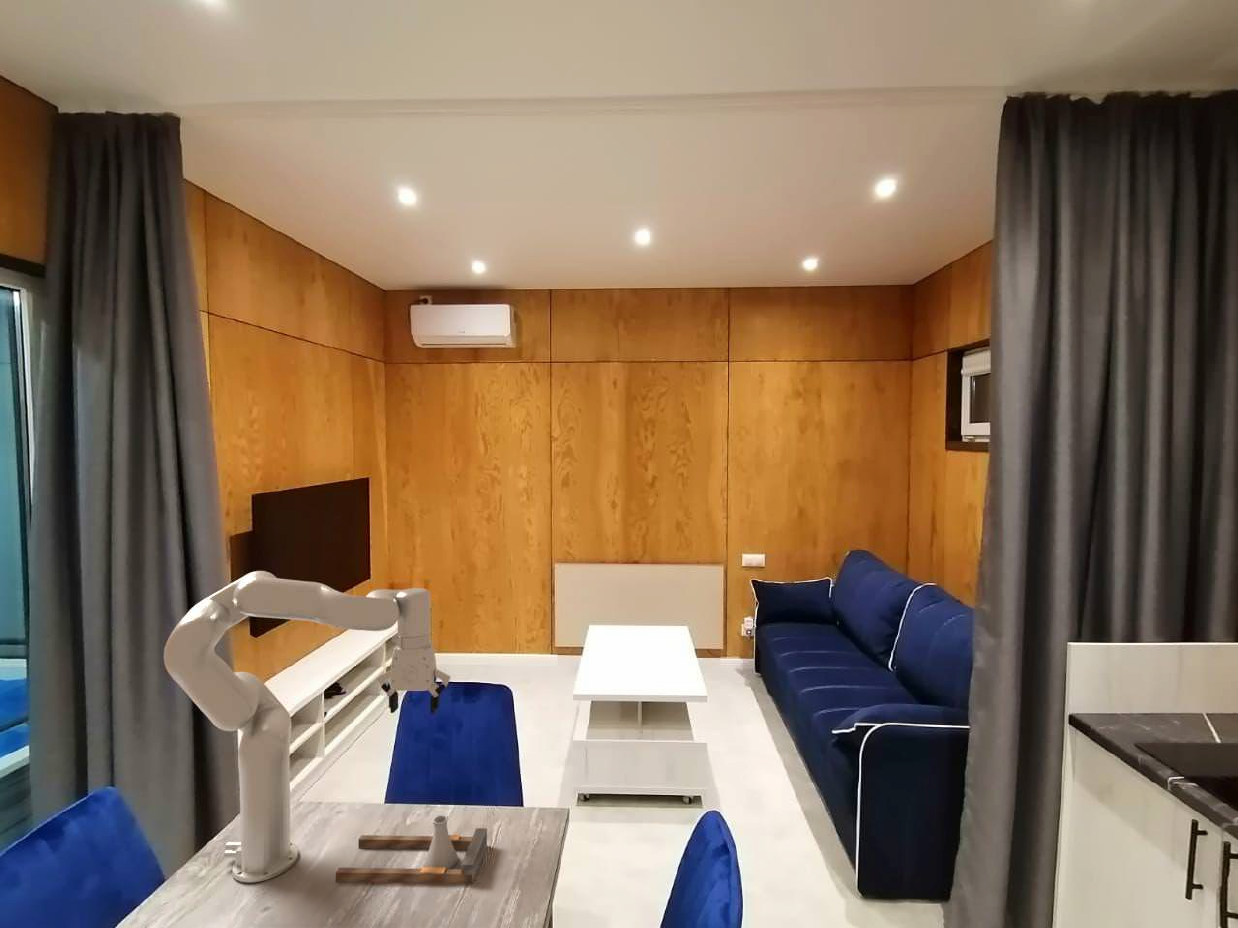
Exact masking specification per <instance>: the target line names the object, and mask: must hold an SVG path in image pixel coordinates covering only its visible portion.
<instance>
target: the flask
mask: <svg viewBox="0 0 1238 928" xmlns="http://www.w3.org/2000/svg"><path fill="white" fill-rule="evenodd" d="M432 819H433V820H432V824H433V826H434V827H433V834H432V836H433V839H432V842H431V845H430V848H429V849H428V851H427V855H426V857H425V859H424V865H423V867H444V868H446V869H453V867H454V866H455V865H456V864H457V860H458V854H457V850H456V849H454V847H453V844H452V842H451V839H450V837H449V835H450V834H449V832H448V831H449V830H448V825H447V824H448V821H449V816H447V815H445V814H438V815H436V816H435V817H433V818H432Z"/></svg>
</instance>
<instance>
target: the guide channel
mask: <svg viewBox="0 0 1238 928" xmlns="http://www.w3.org/2000/svg"><path fill="white" fill-rule="evenodd" d="M449 837H450V839H451V842H452V844H453V847H454V849H455V850H467V851H466V853H465V855H464V857H463V860H462V863H461V868H460V869H459V868H458V869H457V868H455V869H454V868H451V869H446V868H444V867H424V866H422V868H405V867H404V868H398V867H397V868H396V867H395V868H393V867H391V868H390V867H388V868H387V867H338V868H337V869H336V871H335V883H339V882H340V883H341V882H342V883H346V882H347V883H395V884H396V883H400V884H401V883H402V884H405V883H406V884H465V885H466V884H470V885H472V884H475V883H474V882H475V880H476V877H477V874H478V871H479V869H480V867H481V864H482V861H483V858H484V855H485V852H486V849H487V846H488V828H486V827H485V828H483V827H482V828H481V827H480V828H479V827H476V828H475V831H474V833H473V835H472V836H461V835H460V834H449ZM432 839H433V835H376V834H374V835H369V834H368V835H367V834H366V835H363V834H362V835H360V836H359V838H358V849H405V850H406V849H410V850H412V849H414V850H429V848H430V845H431V842H432Z"/></svg>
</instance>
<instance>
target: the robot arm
mask: <svg viewBox="0 0 1238 928" xmlns="http://www.w3.org/2000/svg"><path fill="white" fill-rule="evenodd" d="M248 617H256V618H266V619H267V618H269V619H271V618H272V619H284V620H295V621H308V622H313V623H317V624H319V625H325V626H331V627H334V628H340V629H344V630H352V631H355V630H356V631H364V632H365V631H366V632H368V631H369V632H381V631H386V630H389V629H390V628H393V626H394V625H396V623H397V634H395V635H392V637H391V641H392V642H394V643H396V646H394V648H393V650H392V651H393V652H392V657H391V663H390V664H391V665H390V670H389V671H386V672H384V673H382V674H380V675H379V676H378V677H377V681H378V683H379V684H380V687H381V689H382V690H383V692H385V693H386V697H388V708H389V709H390V710H389V711H390V714H394V713H395V712H396V711H397V709H399V692H398V691H402V692H403V691H407V692H408V691H409V692H416V691H417V692H422V691H423V692H425V691H428V692H429V693H430V694H431V696H430V713H431V714H435V712H436V711H437V710H438V709H439V708H440V694H441V693H443V691H444V690H445V689H446V688H447V686H448V684H449V681H450V680H451V676H450V675H449V674H446V673H445V672H443V671H441V670H439V669H437V659H436V652H435V648H434V645H433V643H431V593H430V591H429V590H428V589H425V588H423V587H412V588H407V589H406V588H405V589H374V590H372V591H370V592H369V593H368V594H366V596H361V595H353V594H350V593H344V592H341V591H338V590H336V589H333V588H332V587H330V586H328V585H326V584H324V583H320V582H316V581H305V580H304V581H303V580H296V579H288V578H287V579H286V578H278V577H277V576H275V575H274V574H272V573H271V572H268V571H265V570H256V571H252V572H249V573H247V574H245V575H243V576H242V577H240V578H239V579H237V580H235V581H234V582H232V583H230V584H228V585H227V586H225V587H223V588H222V589H220V590H218V591H217V592H215V593H213V594H212V595H209V596H208V597H206V598H204V599H203V600H201V601H199V602H198V603H196V604H195V605H194V606H193V607H191V608H190V609H189V610H188V612H187V613H186V614H185V615H184V616H183V617H182V618H181V619H180V620H179V622H178V623H177V624H176V626H175V627H174V628H173V630H172V632H171V633H170V636H169V637H168V639H167V641H166V644H165V646H164V649H163V662H164V663H163V664H164V666H165V668H166V670H167V672H168V674H169V675H170V677H171V678H172V680H173V681H175V682H176V683H177V685H178V686H179V688H181V689H182V690H183V691H184V693H186V694H187V696H188V697H189V698H190V700H191V701H192V702H193V703H194V704H195V705H196V707H198V709H199V710H200V711H201V712H202V713H203V714H204V715H205V716H206V717H207V718H208V720H209V721H210V722H211V723H212V724H213V725H214V726H215V727H217V728H218V729H220V730H222V731H225V732H234V731H237V730H239V731H241V733H242V735H241V737H240V738H241V739H240V741H239V747H238V752H237V753H238V755H237V760H238V761H237V763H238V764H237V765H238V775H239V803H240V804H239V806H240V807H239V808H240V809H239V811H240V812H239V813H240V814H239V817H240V821H239V822H240V823H239V824H240V826H239V827H240V836H239V837H240V839H239V840H240V841H228V842H227V843H226V845H225V849H224V850H225V852H224V853H223V857H224V858H226V859H227V858H228V859H230V858H234V859H235V861H234V862H233V864H232V869H231V874H232V877H233V878H234V880H236V881H239V882H241V883H246V884H247V883H250V884H251V883H258V882H263V881H266V880H270V879H273V878H275V877H277V876H279V875H281V874H283V873H284V872H286V871H287V870H289V869H290V868H291V867H292V866H293V865H294V864H295V862H296V861H297V859H298V857H299V848H298V846H297V844H296V843H294V842H292V841H291V773H290V771H291V770H290V769H291V766H290V764H291V763H290V754H291V753H290V752H291V751H290V750H291V744H290V743H291V735H292V718H291V715H290V713H289V712H288V710H287V708H286V707H285V706H284V704H282V702H281V701H280V700H279V699H278V698H277V697H276V695H275V694H274V693H273V692H272V691H271V690H270V689H269V688H268V686H267V685H266V684H265V683H264V682H263V681H262V680H261V679H260V678H259V677H258V676H256V675H255V674H252V673H251V672H247V671H236V672H234V671H233V670H232V669H231V667H230V666H229V665H228V664H227V662H225V661H224V660H223V658H221V657H219V656H218V655H217V654H216V653H215V647H216V645H217V644H218V643H219V642H220V640H222V637H223V636H224V635H225V633H226V631H228V629H230V628H231V627H233V626H235V625H237V624H239V623H240V622H242V621H243V620H245V619H247V618H248ZM437 678H438V679H439V680H441V684H440V685H438V684H437V683H436V682H437V680H438V679H437ZM387 679H389V682H388V681H387Z"/></svg>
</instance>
